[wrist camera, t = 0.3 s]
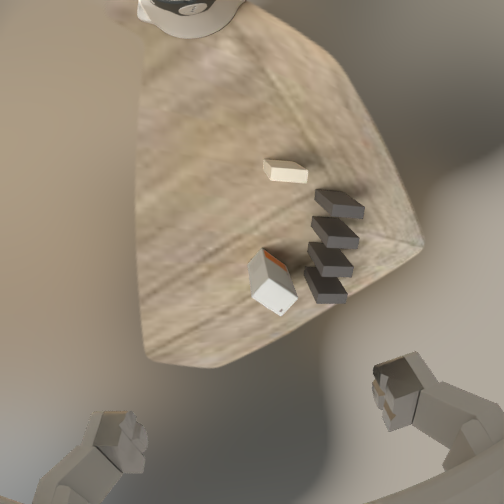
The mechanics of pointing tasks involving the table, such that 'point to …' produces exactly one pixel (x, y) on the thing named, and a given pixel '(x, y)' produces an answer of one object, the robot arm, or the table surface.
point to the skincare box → (271, 283)
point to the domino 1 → (285, 171)
